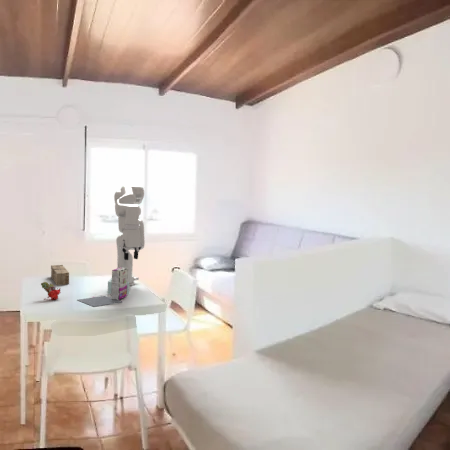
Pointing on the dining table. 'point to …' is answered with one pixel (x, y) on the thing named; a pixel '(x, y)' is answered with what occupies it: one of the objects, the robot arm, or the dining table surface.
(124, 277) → the candy bar box
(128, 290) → the right angle wall
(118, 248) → the robot arm
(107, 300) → the mat
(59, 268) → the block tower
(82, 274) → the dining table surface
